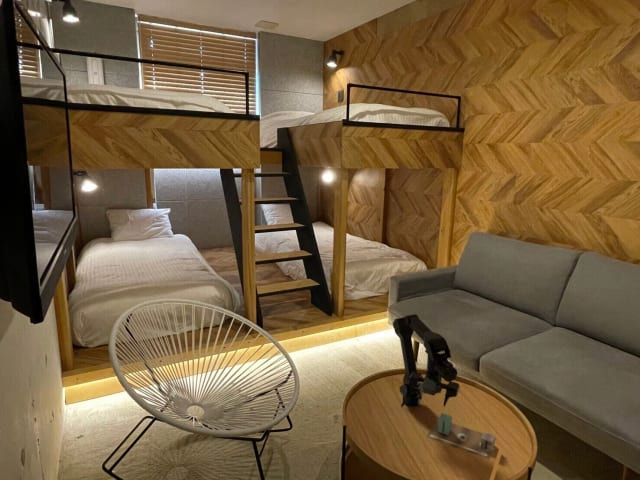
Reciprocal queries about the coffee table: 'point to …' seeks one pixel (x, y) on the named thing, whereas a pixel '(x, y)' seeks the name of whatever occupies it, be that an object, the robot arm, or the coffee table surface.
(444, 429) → the sage green box
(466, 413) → the coffee table surface
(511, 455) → the coffee table surface
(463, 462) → the coffee table surface
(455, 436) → the board
